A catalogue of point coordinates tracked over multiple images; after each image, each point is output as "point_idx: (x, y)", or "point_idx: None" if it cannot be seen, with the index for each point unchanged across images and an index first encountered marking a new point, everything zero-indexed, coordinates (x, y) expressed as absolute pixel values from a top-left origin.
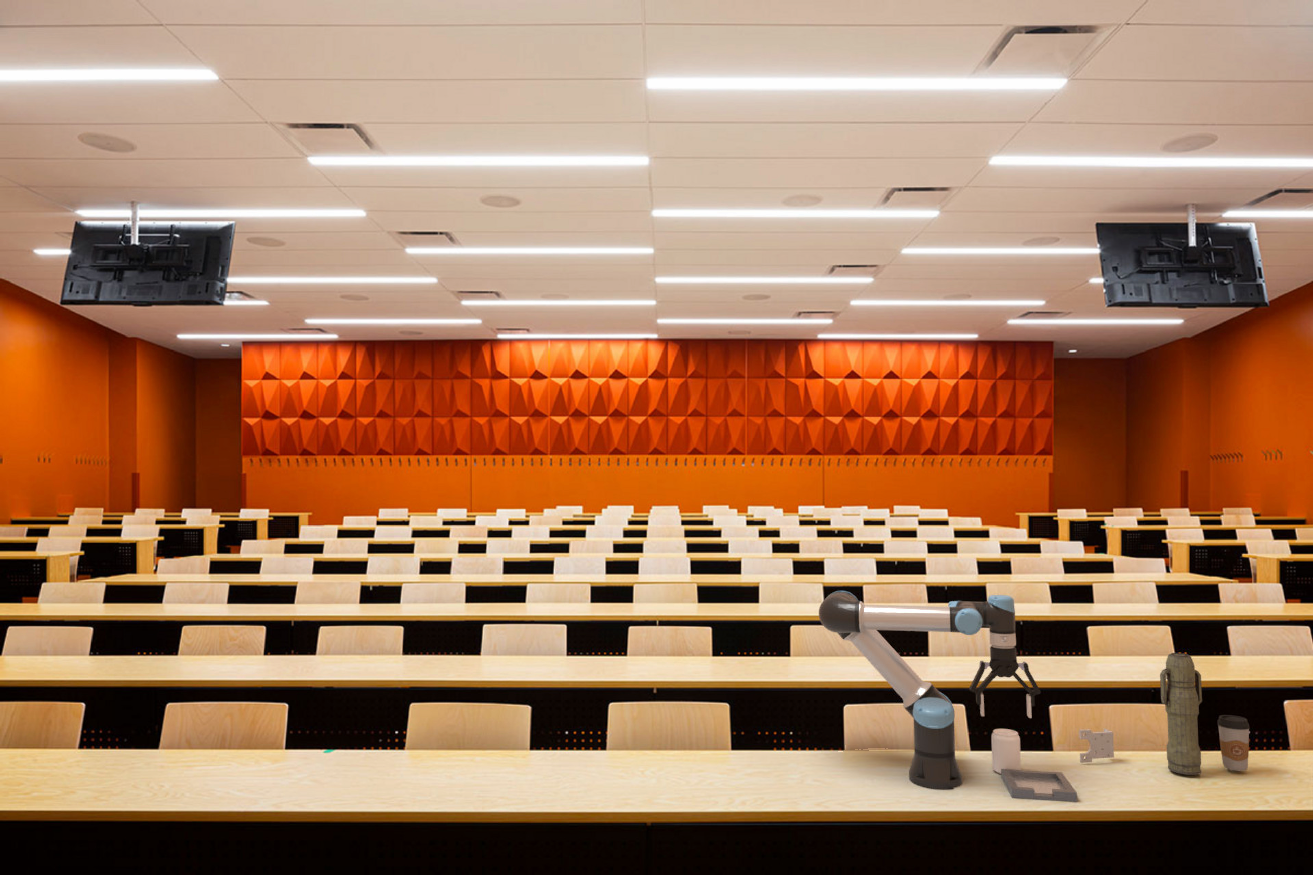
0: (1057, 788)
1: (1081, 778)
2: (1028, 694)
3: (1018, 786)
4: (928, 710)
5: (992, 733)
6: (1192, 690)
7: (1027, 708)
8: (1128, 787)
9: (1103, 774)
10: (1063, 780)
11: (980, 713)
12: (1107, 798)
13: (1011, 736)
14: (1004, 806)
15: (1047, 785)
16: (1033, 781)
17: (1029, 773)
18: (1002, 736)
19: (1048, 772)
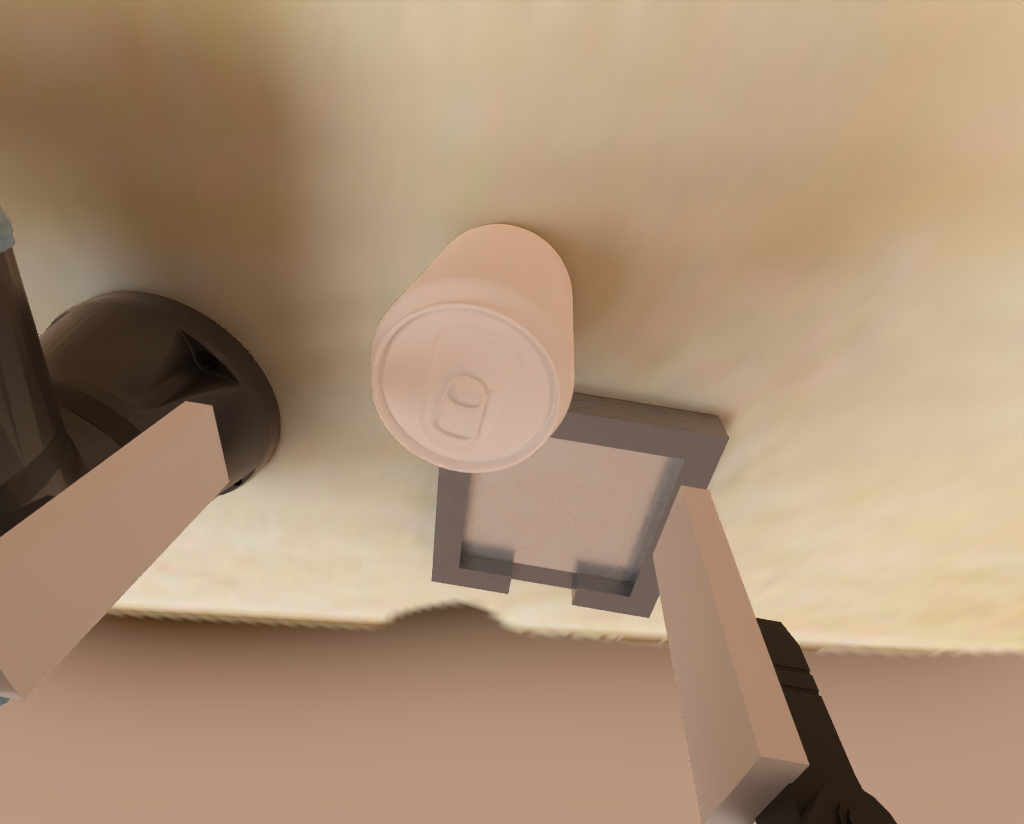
0: (624, 533)
1: (837, 388)
2: (789, 768)
3: (480, 513)
4: None
5: (373, 356)
6: None
7: (686, 583)
8: (967, 490)
9: (1016, 332)
10: None
11: (183, 412)
12: (774, 574)
13: (487, 465)
14: (399, 604)
15: (599, 508)
16: (561, 470)
17: (565, 436)
18: (426, 451)
19: (659, 439)
